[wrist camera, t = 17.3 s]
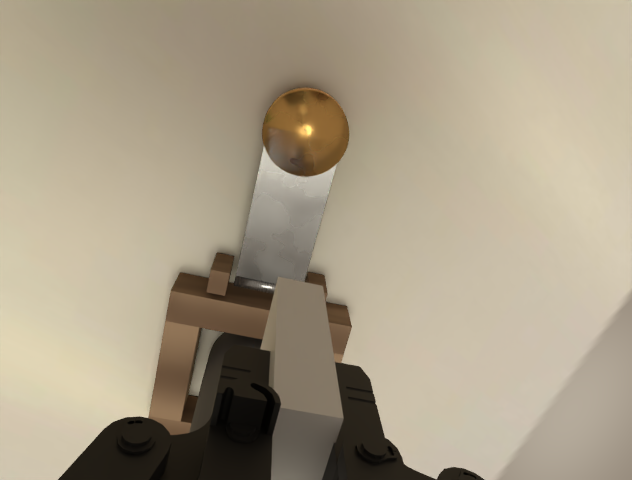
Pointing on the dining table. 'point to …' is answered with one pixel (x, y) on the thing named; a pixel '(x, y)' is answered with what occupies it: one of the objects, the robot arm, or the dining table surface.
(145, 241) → the dining table surface
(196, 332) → the socket block
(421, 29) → the dining table surface
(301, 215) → the bar
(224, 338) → the bottle
